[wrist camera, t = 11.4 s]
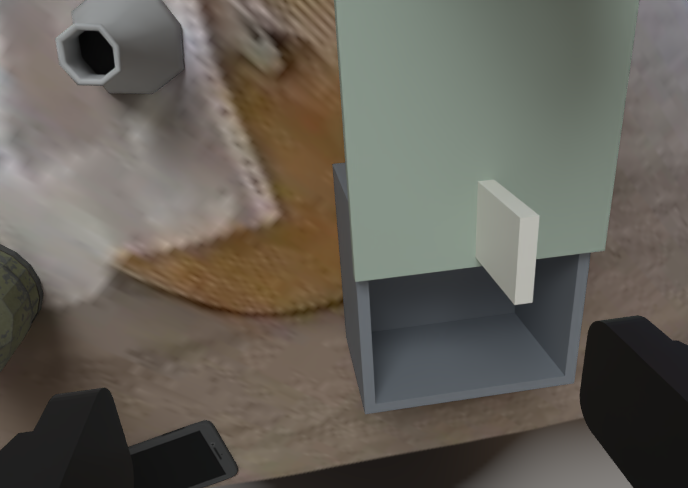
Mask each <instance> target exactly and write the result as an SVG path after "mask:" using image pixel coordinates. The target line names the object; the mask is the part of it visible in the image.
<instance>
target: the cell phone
mask: <svg viewBox="0 0 688 488" xmlns="http://www.w3.org/2000/svg"><path fill="white" fill-rule="evenodd" d="M128 449H129V452H130V456H131V459H132V464H133V471H134V488H203V487H206V486H209V485H212V484H215V483H217V482H220V481H223V480H226V479H228V478H231V477H233V476H235V475H236V473H237V472H238V467H237V464H236V462H235V461H234V459H233V457H232V455H231V454H230V452H229V450H228V449H227V447H226V445H225V443H224V442H223V440H222V438H221V437H220V435H219V433H218V431H217V430H216V428H215V426H214V425H213V424H212V423H211V422H210V421H207V420H206V421H201V422H198V423H194V424H191V425H188V426H186V427H183V428H180V429H177V430H175V431H172V432H169V433H166V434H163V435H161V436H158V437H155V438H152V439H150V440H147V441H144V442H141V443H138V444H136V445H133V446H130V447H128Z"/></svg>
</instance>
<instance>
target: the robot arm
mask: <svg viewBox="0 0 688 488" xmlns="http://www.w3.org/2000/svg"><path fill="white" fill-rule="evenodd" d="M580 405H581V410H582V413H583V416H584V419H585V421H586V424H587V426H588V427H589V429H590V431H591V432H592V433H593V435H594V436H595V437H596V439H597V440H598V441H599V443H600V444H601V445H602V446H603V448H604V449H605V451H606V452H607V453H608V455H609V456H610V457H611V459H612V460H613V461H614V463H615V464H616V465H617V466H618V468H619V469H620V470H621V472H622V473H623V474H624V476H625V477H626V478H627V480H628V481H629V482H630V484H631V485H632V486H633V488H688V345H686V344H684V343H682V342H680V341H672V340H671V339H670V338H669V337H668V336H667V335H665V334H664V333H663V332H662V331H661V330H659V329H658V328H657V327H656V326H655V325H653V324H652V323H651V322H650V321H649V320H647V319H646V318H644V317H642V316H630V317H623V318H616V319H608V320H601V321H595V322H593V323H592V324H591V326H590V328H589V330H588V335H587V343H586V350H585V358H584V365H583V373H582V380H581V388H580ZM0 488H134V471H133V464H132V459H131V456H130V452H129V449H128V446H127V442H126V439H125V436H124V433H123V429H122V426H121V423H120V419H119V416H118V413H117V410H116V406H115V403H114V400H113V397H112V395H111V393H110V391H109V390H108V389H107V388H99V389H91V390H84V391H77V392H70V393H62V394H56V395H54V396H53V397H52V398H51V399H50V400H49V402H48V404H47V406H46V408H45V410H44V412H43V414H42V415H41V417H40V419H39V421H38V423H37V425H36V427H35V429H34V431H32V432H25V433H18V434H17V435H16V436H15V437H14V438H13V439H12V440H11V441H10V442H9V443H8V444H7V445H6V446H4V447H3V448H2V449H1V450H0Z"/></svg>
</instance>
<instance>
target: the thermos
mask: <svg viewBox="0 0 688 488" xmlns="http://www.w3.org/2000/svg"><path fill="white" fill-rule="evenodd" d="M42 298H43V292H42V288H41V283H40V279H39V278H38V276H37V274H36V273H35V271H34V270H33V268H32V267H31V265H30V264H29V263H28V262H27V261H26V260H24V259H23V258H22V257H21V256H20V255H19V254H18V253H16V252H15V251H13V250H11V249H9V248H7V247H5V246H3V245H1V244H0V372H1V371H2V369H3V368H4V366H5V365H6V363H7V362H8V360H9V359H10V358H11V356H12V355H13V353H14V352H15V350H16V349H17V347H18V346H19V345H20V343H21V342H22V340H23V339H24V337H25V335H26V334H27V332H28V331H29V329H30V327H31V324H32V322H33V321H34V319H35V317H36V316H37V314H38V313H39V311H40V309H41V305H42Z"/></svg>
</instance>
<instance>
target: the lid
mask: <svg viewBox="0 0 688 488" xmlns="http://www.w3.org/2000/svg"><path fill="white" fill-rule="evenodd" d="M334 7H335V21H336V35H337V49H338V64H339V78H340V92H341V106H342V120H343V135H344V149H345V163H346V177H347V191H348V206H349V220H350V234H351V248H352V263H353V276H354V279H355V282H359V281H367V280H375V279H383V278H391V277H399V276H407V275H415V274H423V273H431V272H439V271H447V270H455V269H463V268H471V267H479V266H483V267H484V268H485V269H486V271H487V272H488V273H489V274H490V276H491V277H492V278H493V279H494V281H495V282H496V283H497V284H498V285H499V287H500V288H501V289H502V290H503V292H504V293H505V294H506V295H507V296H508V298H509V299H510V300H511V301H512V303H513V304H514V305H518V304H526V303H532V302H533V290H534V278H535V266H536V259H542V258H550V257H558V256H566V255H574V254H582V253H590V252H598V251H605V244H606V237H607V230H608V223H609V216H610V208H611V201H612V194H613V187H614V180H615V172H616V165H617V158H618V151H619V143H620V136H621V129H622V122H623V115H624V107H625V100H626V93H627V86H628V79H629V71H630V64H631V57H632V50H633V43H634V35H635V28H636V21H637V14H638V7H639V0H334Z"/></svg>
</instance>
